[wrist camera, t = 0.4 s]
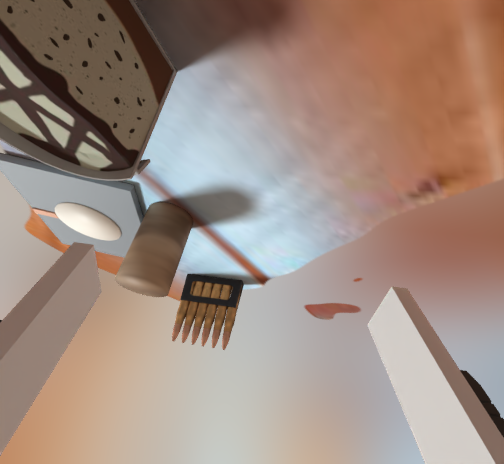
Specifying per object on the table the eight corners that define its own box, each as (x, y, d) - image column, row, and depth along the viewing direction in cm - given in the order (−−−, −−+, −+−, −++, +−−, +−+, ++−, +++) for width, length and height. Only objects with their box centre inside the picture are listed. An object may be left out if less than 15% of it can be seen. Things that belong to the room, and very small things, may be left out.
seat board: (-5, 151, 32) (-12, 158, 31) (133, 184, 33) (129, 192, 32) (65, 238, 49) (61, 244, 48) (155, 259, 49) (153, 265, 49)
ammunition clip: (190, 277, 54) (169, 341, 48) (187, 273, 53) (165, 339, 46) (243, 284, 52) (230, 352, 46) (242, 280, 51) (228, 349, 44)
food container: (-30, -86, 15) (-236, -27, 10) (34, -164, 13) (-198, -143, 7) (131, 112, 24) (71, 200, 19) (188, 90, 21) (137, 185, 16)
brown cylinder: (144, 197, 34) (108, 270, 29) (192, 208, 35) (165, 283, 29) (151, 223, 39) (121, 289, 34) (193, 233, 40) (170, 300, 34)
